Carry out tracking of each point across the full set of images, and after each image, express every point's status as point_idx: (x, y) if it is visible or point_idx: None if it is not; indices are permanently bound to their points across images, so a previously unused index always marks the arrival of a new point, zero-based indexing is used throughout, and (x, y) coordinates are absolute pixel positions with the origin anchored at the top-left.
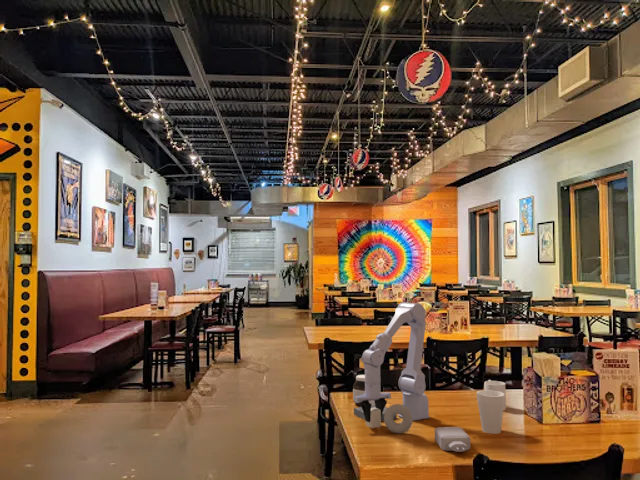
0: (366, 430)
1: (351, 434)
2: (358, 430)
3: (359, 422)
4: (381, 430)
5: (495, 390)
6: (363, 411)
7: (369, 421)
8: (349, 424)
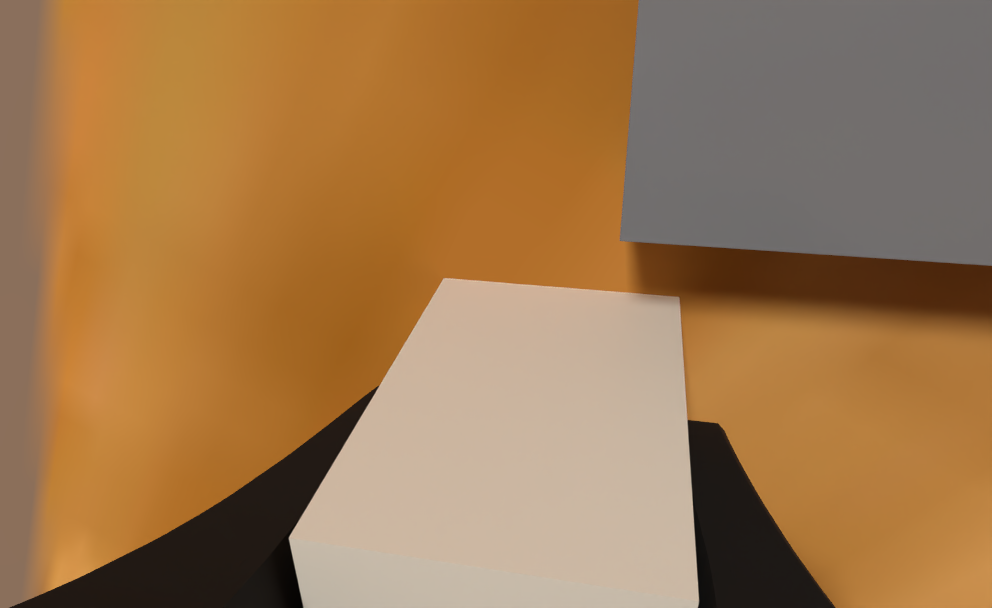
0: None
1: (68, 498)
2: (206, 431)
3: (407, 37)
4: None
5: None
6: (221, 515)
7: None
8: (142, 63)
